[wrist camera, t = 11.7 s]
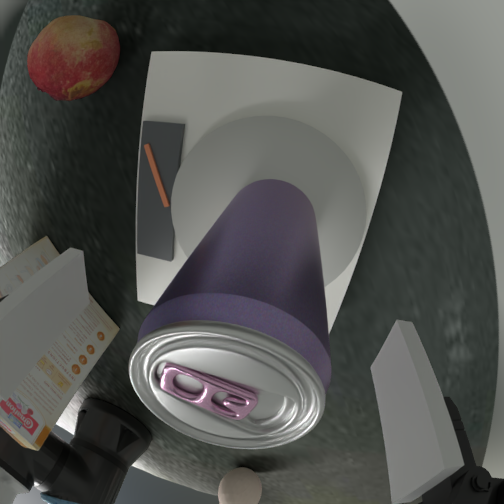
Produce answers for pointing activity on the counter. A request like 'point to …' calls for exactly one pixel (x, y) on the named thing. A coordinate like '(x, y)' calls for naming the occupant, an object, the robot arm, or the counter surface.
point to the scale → (256, 155)
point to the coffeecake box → (51, 357)
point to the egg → (240, 487)
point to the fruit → (73, 57)
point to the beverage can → (242, 328)
